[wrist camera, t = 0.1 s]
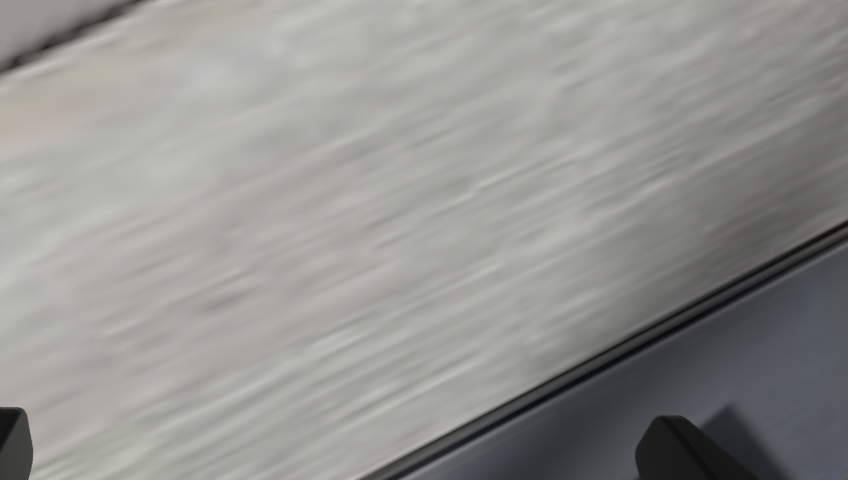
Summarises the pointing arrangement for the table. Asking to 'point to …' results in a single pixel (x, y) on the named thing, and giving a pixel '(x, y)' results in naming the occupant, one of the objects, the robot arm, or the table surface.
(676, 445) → the robot arm
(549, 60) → the table surface
